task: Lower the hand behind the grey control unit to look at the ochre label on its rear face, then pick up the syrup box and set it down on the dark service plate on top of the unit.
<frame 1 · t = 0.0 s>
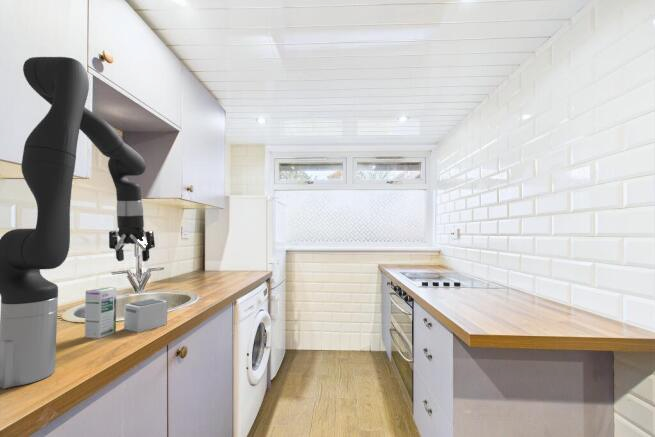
hand: (133, 260, 105), 22 cm above the worktop, tool pointing down, fingers open, 8 cm apart
syrup box: (100, 335, 96), on the worktop
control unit: (146, 326, 104), on the worktop
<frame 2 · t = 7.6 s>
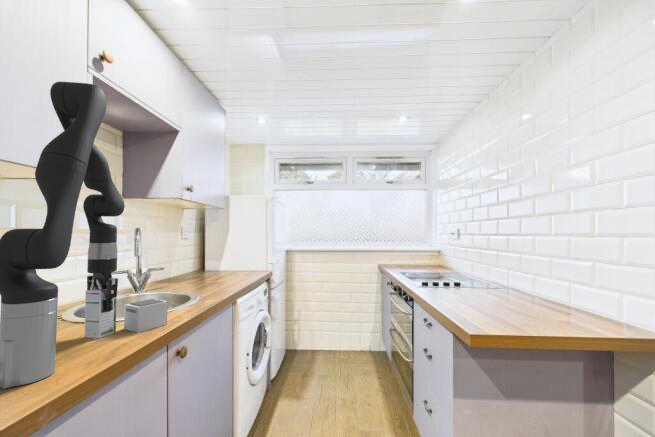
hand: (101, 309, 96), 8 cm above the worktop, tool pointing down, fingers closed on syrup box, 6 cm apart
syrup box: (100, 335, 96), on the worktop, touching gripper
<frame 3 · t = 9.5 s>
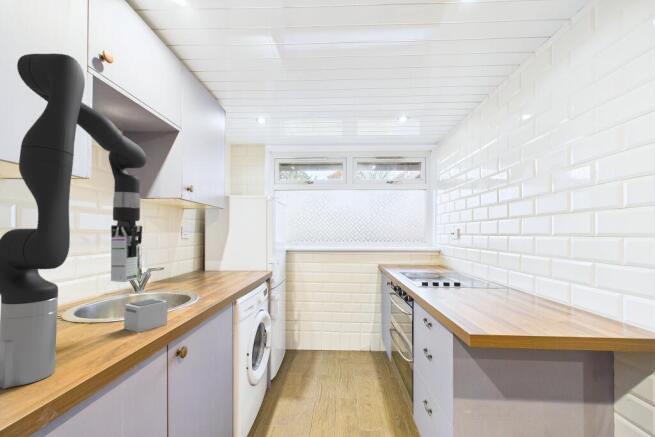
hand: (125, 256, 101), 24 cm above the worktop, tool pointing down, fingers closed on syrup box, 6 cm apart
syrup box: (125, 280, 101), point 16 cm above the worktop, touching gripper
when the fingers open (17 cm above the worktop, at t = 11.7 s): syrup box moves 1 cm, resting on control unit.
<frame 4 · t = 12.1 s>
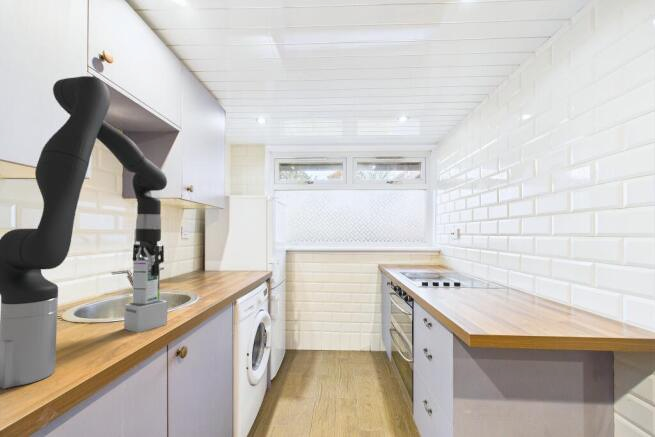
hand: (147, 274, 105), 18 cm above the worktop, tool pointing down, fingers open, 8 cm apart
syrup box: (145, 302, 105), point 8 cm above the worktop, touching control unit
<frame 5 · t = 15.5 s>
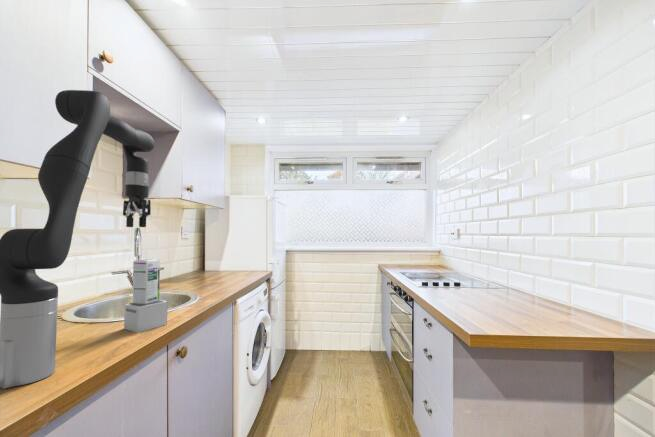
hand: (136, 227, 116), 34 cm above the worktop, tool pointing down, fingers open, 8 cm apart
nothing on the worktop moved.
at the end: syrup box inside the target area on the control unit (0.2 cm from its centre), point 8.1 cm above the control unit's base; syrup box tilted 0°; the gripper is holding nothing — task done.
